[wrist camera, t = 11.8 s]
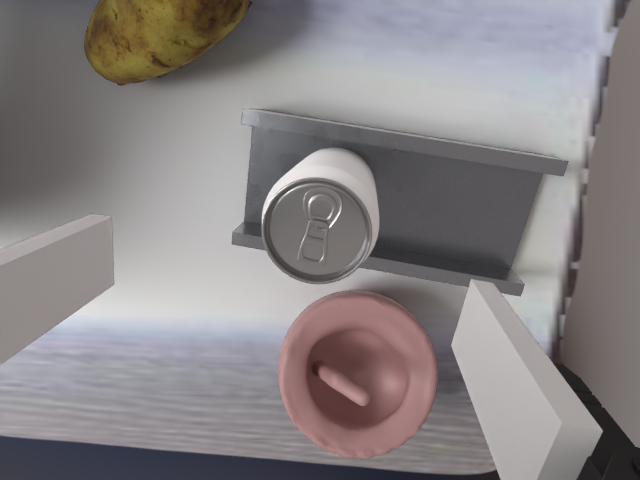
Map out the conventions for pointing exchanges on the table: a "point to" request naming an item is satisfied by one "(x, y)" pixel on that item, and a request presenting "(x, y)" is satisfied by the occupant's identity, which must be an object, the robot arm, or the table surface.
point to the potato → (156, 35)
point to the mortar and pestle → (357, 373)
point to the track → (412, 195)
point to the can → (322, 217)
